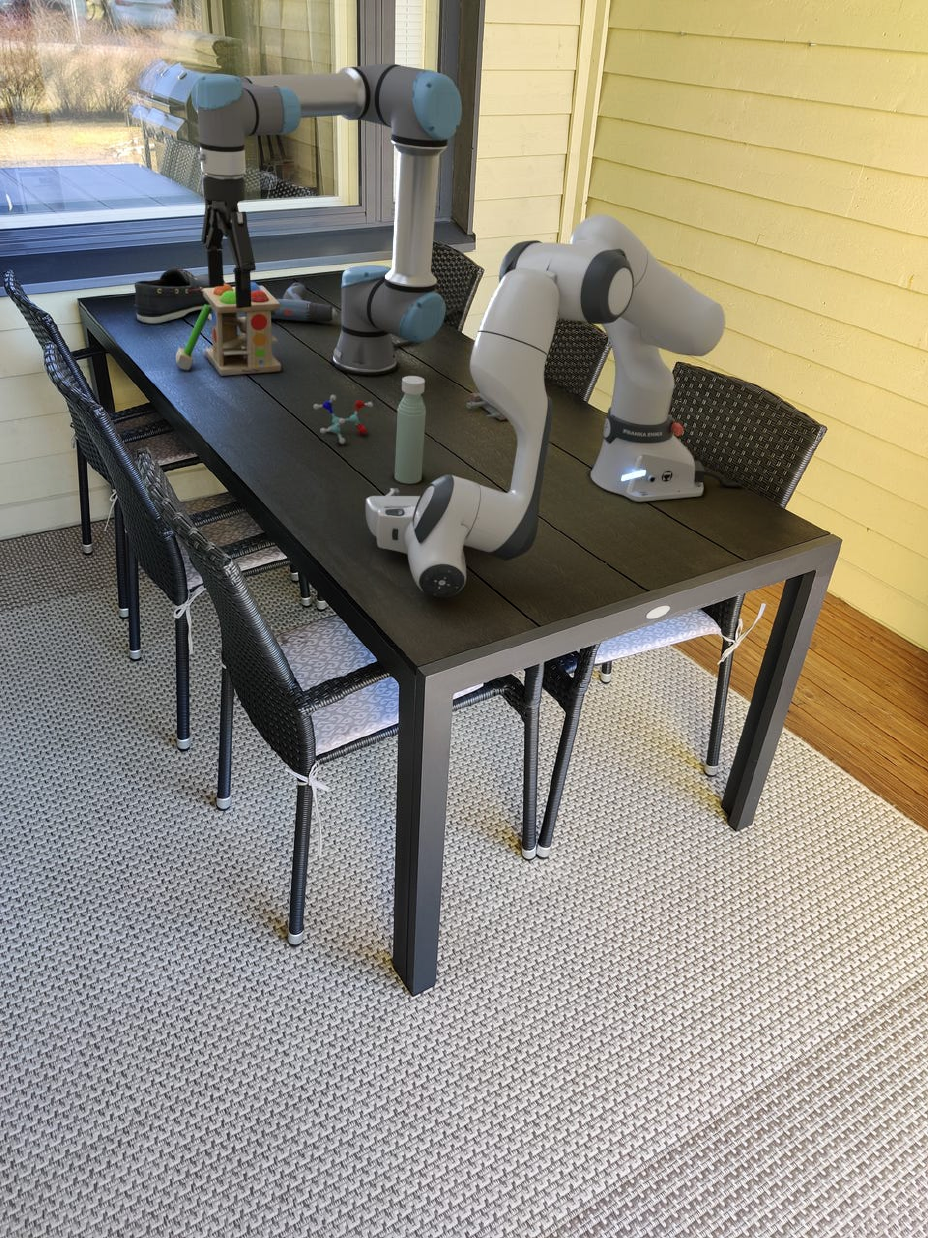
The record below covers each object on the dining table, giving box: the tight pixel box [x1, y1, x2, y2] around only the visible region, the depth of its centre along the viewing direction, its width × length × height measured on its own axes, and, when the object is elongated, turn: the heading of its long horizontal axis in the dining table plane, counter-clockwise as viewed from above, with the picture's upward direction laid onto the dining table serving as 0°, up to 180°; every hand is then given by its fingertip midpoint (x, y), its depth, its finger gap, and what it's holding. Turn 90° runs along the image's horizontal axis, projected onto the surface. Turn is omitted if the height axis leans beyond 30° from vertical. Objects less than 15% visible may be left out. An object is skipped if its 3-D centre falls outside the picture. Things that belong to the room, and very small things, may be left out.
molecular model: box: [312, 394, 374, 445], centre depth 201 cm, size 12×10×10 cm
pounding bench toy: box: [174, 281, 282, 377], centre depth 225 cm, size 23×14×18 cm, turn 116°
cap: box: [401, 375, 426, 395], centre depth 179 cm, size 4×4×2 cm
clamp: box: [466, 391, 507, 421], centre depth 219 cm, size 15×2×10 cm
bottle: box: [394, 392, 427, 485], centre depth 184 cm, size 5×5×19 cm
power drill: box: [271, 282, 338, 322], centre depth 265 cm, size 5×19×20 cm
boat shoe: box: [133, 267, 226, 324], centre depth 260 cm, size 13×33×10 cm, turn 147°
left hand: (229, 296), depth 184 cm, fingers open, 13 cm apart
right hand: (420, 491), depth 172 cm, fingers open, 8 cm apart
